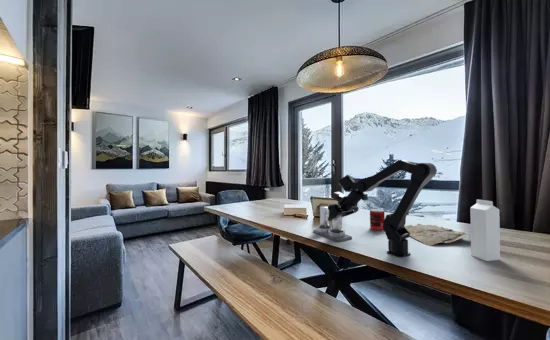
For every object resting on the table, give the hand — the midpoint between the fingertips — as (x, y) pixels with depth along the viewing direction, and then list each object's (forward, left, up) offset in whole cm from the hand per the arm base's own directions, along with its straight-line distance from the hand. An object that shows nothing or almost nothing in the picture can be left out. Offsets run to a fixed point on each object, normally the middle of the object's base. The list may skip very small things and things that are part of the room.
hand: (334, 218), depth 121 cm
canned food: (-1, -30, -10) cm, 32 cm away
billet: (-1, 0, -8) cm, 8 cm away
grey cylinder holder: (+3, 0, -9) cm, 10 cm away
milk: (-50, -30, -10) cm, 60 cm away
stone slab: (-24, -43, -10) cm, 50 cm away
